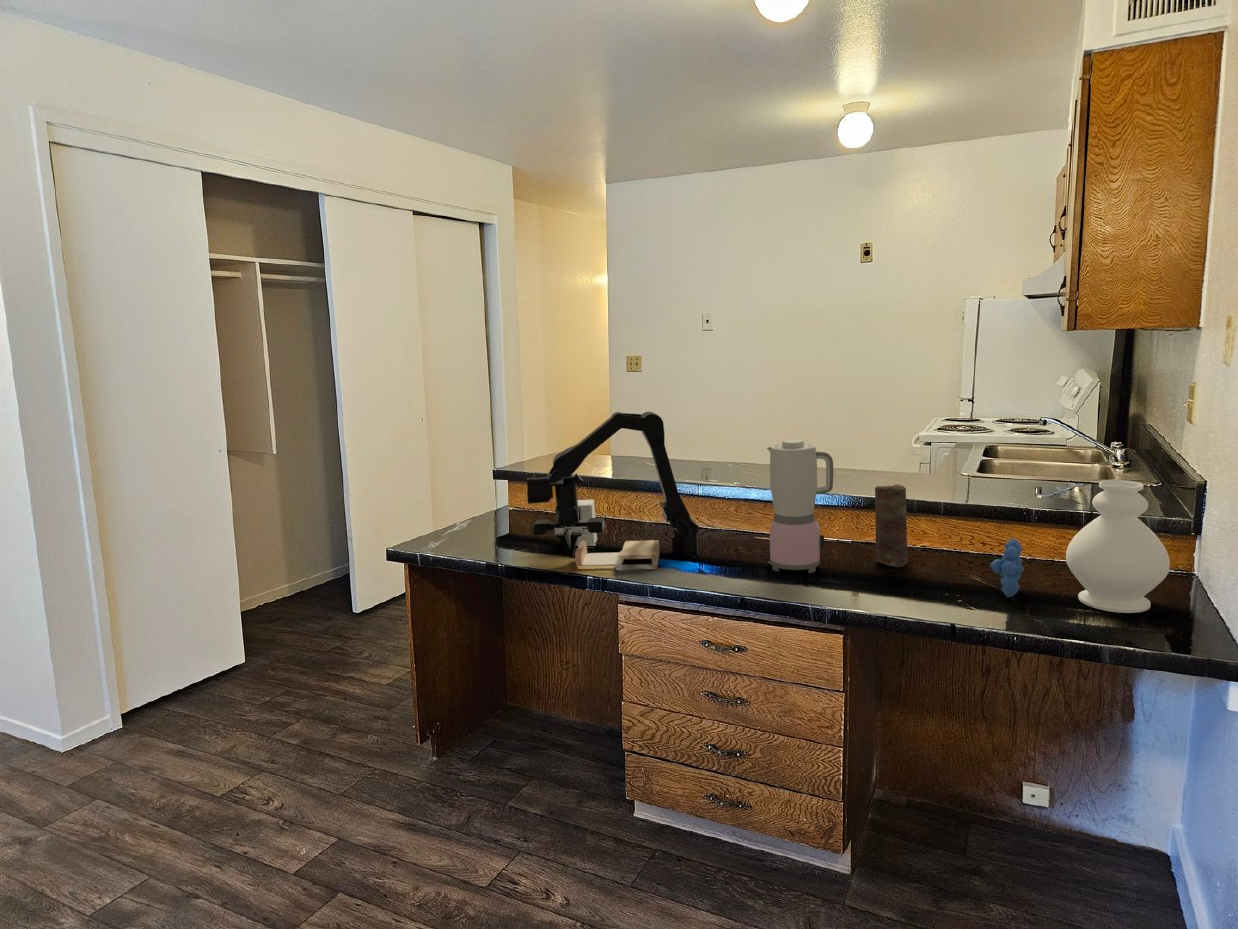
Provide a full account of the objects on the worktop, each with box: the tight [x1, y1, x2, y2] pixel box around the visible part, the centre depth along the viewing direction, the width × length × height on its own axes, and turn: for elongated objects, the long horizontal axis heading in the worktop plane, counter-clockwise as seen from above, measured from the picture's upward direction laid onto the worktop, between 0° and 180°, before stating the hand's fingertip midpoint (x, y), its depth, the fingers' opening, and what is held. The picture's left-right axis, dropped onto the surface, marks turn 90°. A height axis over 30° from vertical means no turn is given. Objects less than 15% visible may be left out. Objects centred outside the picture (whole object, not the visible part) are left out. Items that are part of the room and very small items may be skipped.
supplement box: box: [569, 499, 598, 546], centre depth 221 cm, size 7×7×13 cm
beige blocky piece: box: [574, 541, 625, 567], centre depth 203 cm, size 12×10×5 cm
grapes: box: [989, 538, 1025, 598], centre depth 165 cm, size 12×7×12 cm, turn 147°
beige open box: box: [615, 539, 660, 570], centre depth 202 cm, size 11×13×4 cm
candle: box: [874, 483, 908, 568], centre depth 188 cm, size 8×7×20 cm
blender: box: [766, 439, 834, 574], centre depth 188 cm, size 16×12×32 cm
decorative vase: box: [1065, 479, 1171, 614], centre depth 156 cm, size 18×18×25 cm
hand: (571, 557), depth 204 cm, fingers closed
